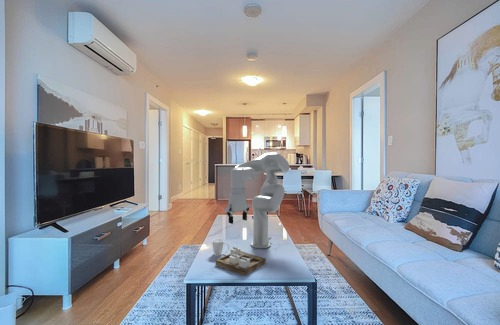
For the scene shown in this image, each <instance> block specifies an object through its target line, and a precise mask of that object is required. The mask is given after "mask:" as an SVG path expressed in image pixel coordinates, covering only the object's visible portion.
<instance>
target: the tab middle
mask: <svg viewBox="0 0 500 325" xmlns="http://www.w3.org/2000/svg"><path fill="white" fill-rule="evenodd" d="M239 260H240V256H239V255H235V254H232V256H229V263H231V264H233V265H236V264H238V263H239Z"/></svg>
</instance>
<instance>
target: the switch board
mask: <svg viewBox="0 0 500 325" xmlns="http://www.w3.org/2000/svg"><path fill="white" fill-rule="evenodd" d="M230 254H231V253H229V254H226V255H224V256H222V257H220V258H217V259H215V266H216V267H220V268H222V269H225V270H228V272H229V271H230V272H232V273H235V274H237V275H240V276H243V277H245V276H247V275H248V274H250V273H252V272H253V271H256V270H257V269H260V268H261V267H262V266H264V265H266V264H267V258H266V257H261V256H258V255H255V254H252V253H249V252H246V251H242V250H240V255H239V256H240V259H242V257H245V258H248V259H250V266H249V267H247V268H245V269H244V268H241V267H239V263H238V264H236V265H233V264H231V263H229V256H230Z"/></svg>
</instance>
